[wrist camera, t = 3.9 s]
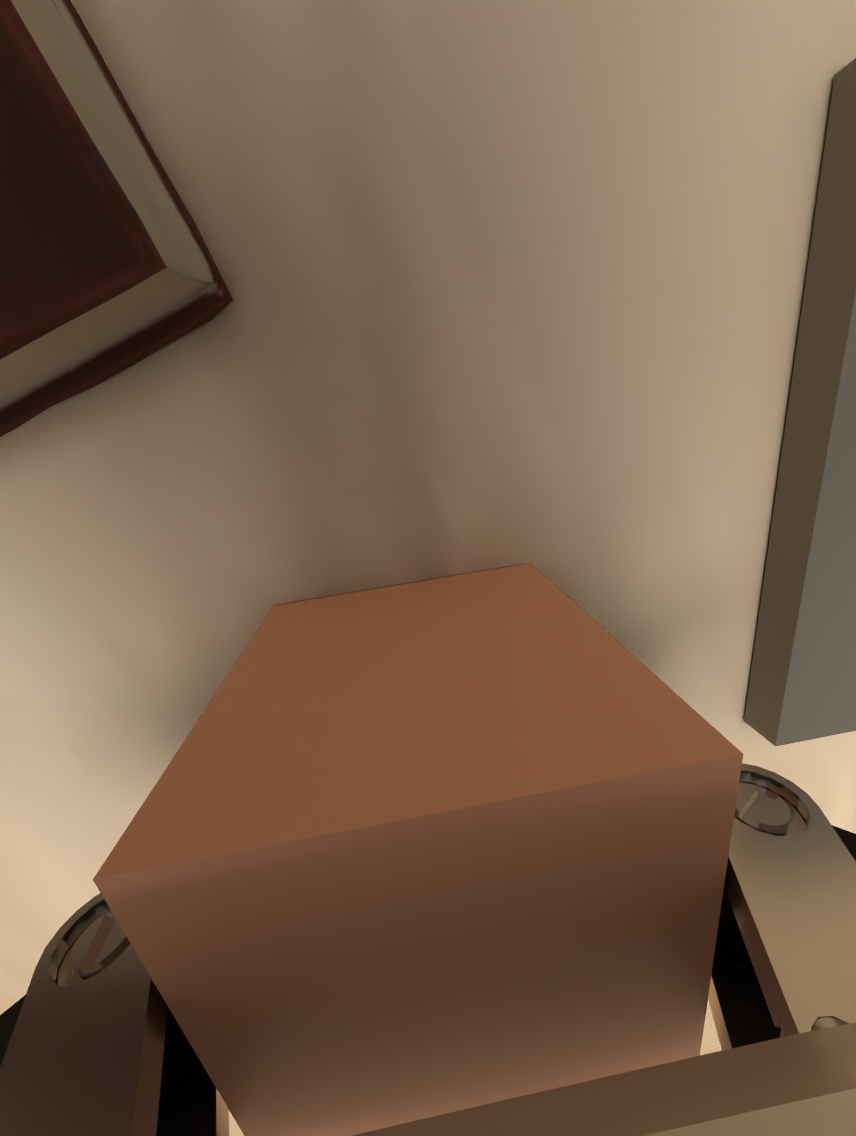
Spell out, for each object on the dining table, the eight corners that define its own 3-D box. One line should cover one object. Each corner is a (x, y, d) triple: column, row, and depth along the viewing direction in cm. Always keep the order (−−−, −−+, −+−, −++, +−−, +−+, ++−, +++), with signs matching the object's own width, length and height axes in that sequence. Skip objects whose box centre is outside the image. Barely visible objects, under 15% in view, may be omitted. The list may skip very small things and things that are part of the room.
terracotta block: (274, 605, 9) (93, 879, 4) (530, 562, 9) (743, 754, 4) (330, 802, 11) (273, 1184, 5) (542, 762, 11) (695, 1085, 6)
